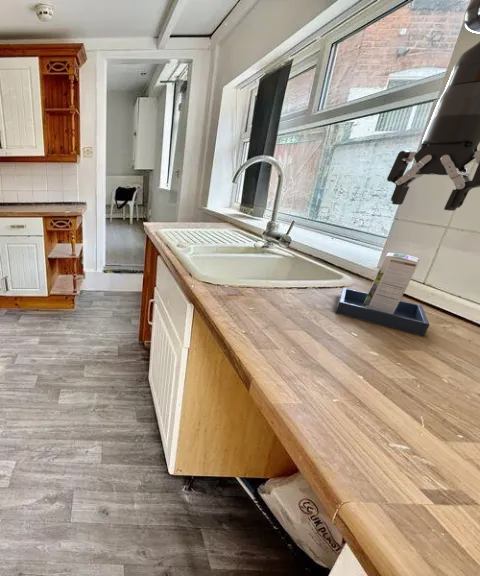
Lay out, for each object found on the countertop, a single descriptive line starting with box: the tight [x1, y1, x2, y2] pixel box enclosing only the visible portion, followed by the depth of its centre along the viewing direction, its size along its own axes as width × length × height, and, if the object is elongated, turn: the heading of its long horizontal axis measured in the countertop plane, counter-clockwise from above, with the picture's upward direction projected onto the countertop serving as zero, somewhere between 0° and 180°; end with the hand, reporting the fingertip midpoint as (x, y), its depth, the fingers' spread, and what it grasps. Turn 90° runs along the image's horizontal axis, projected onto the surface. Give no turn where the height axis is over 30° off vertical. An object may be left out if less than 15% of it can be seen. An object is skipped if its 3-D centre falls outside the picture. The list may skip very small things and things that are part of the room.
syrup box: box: [363, 252, 420, 314], centre depth 72 cm, size 6×6×14 cm
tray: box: [335, 287, 430, 337], centre depth 75 cm, size 16×14×3 cm
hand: (421, 207), depth 61 cm, fingers open, 8 cm apart
